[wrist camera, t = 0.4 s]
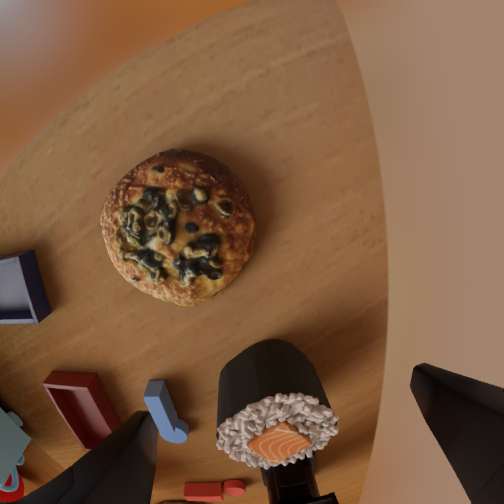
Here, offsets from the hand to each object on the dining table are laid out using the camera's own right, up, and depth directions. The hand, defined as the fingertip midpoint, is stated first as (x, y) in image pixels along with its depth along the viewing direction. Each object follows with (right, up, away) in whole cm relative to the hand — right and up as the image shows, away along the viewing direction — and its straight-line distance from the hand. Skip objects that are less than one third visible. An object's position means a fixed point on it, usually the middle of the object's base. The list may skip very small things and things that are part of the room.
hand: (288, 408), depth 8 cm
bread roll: (-6, +7, +13) cm, 16 cm away
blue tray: (-25, +2, +12) cm, 28 cm away
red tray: (-18, -12, +16) cm, 27 cm away
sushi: (0, -6, +16) cm, 17 cm away
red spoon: (-6, -25, +20) cm, 33 cm away
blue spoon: (-9, -11, +16) cm, 21 cm away
